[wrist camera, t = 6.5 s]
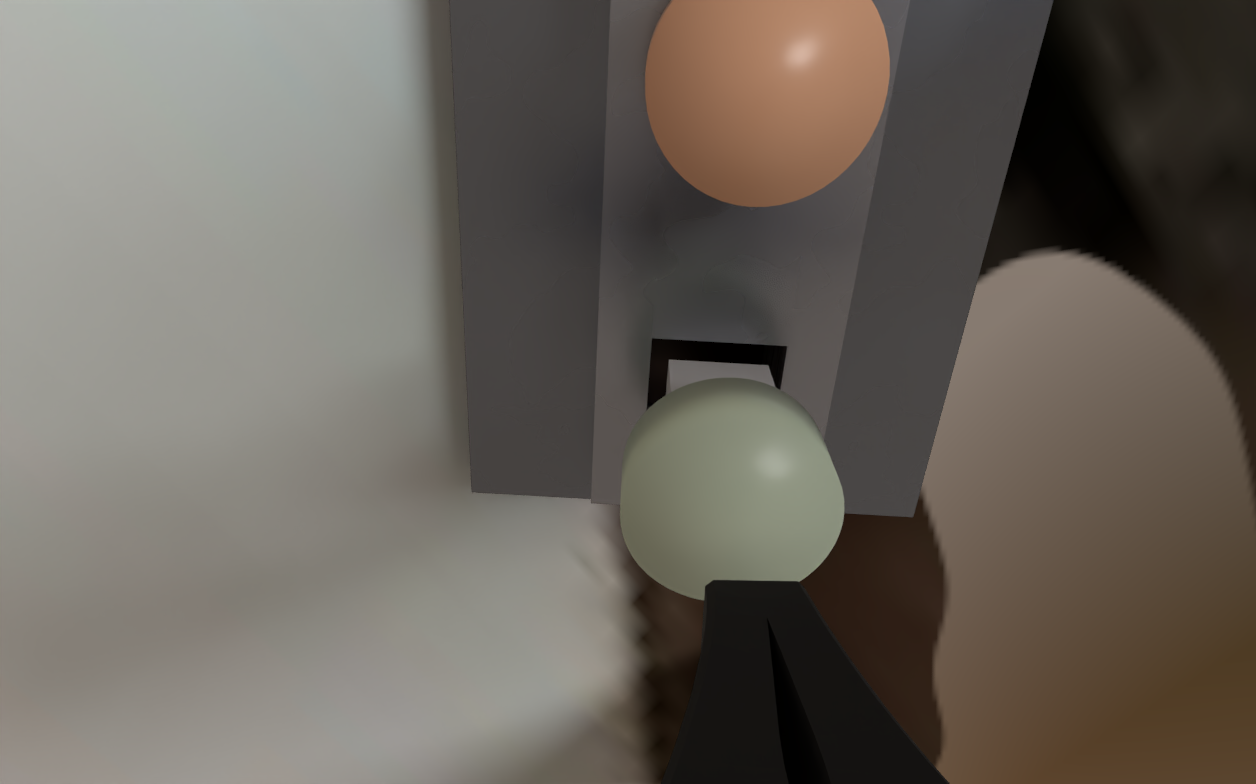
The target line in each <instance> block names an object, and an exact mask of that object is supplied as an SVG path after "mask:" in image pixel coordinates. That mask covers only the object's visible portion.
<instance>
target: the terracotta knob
mask: <svg viewBox="0 0 1256 784" xmlns="http://www.w3.org/2000/svg"><path fill="white" fill-rule="evenodd" d="M889 77H890V57H889V48H888V41H887V37H886V33H885V29H884V25H883V23H882V20H881V18H880V15H879V13H878V10H877V8H876V7H875V5H874V3H873V1H872V0H671V1H670V2H669V4H668V5H667V7H666V8H665V9H664V11H663V13H662V15H661V17H660V19H659V21H658V23H657V24H656V27H655V30H654V32H653V35H652V38H651V41H650V45H649V49H648V53H647V59H646V68H645V98H646V106H647V113H648V117H649V121H650V125H651V128H652V131H653V133H654V136H655V138H656V141H657V143H658V145H659V147H660V149H661V150H662V152H663V154H664V156H665V157H666V159H667V160H668V161H669V163H670V164H671V165H672V167H673V168H674V169H675V170H676V171H677V172H678V173H679V174H680V175H681V176H682V177H683V178H684V179H685V180H686V181H687V182H688V183H690V184H691V185H692V186H694V187H695V188H696V189H698V190H700V191H701V192H703V193H705V194H706V195H708V196H710V197H713V198H715V199H718V200H720V201H723V202H726V203H730V204H734V205H739V206H747V207H769V206H776V205H782V204H786V203H790V202H793V201H797V200H799V199H802V198H804V197H806V196H809V195H811V194H813V193H815V192H816V191H818V190H820V189H822V188H824V187H825V186H826V185H828V184H829V183H831V182H832V181H833V180H835V179H836V178H837V177H838V176H840V175H841V174H842V173H843V172H844V171H845V170H846V169H847V168H848V167H849V166H850V165H851V164H852V163H853V162H854V160H855V159H856V158H857V157H858V156H859V155H860V153H861V152H862V150H863V149H864V147H865V146H866V144H867V143H868V142H869V140H870V138H871V136H872V134H873V132H874V130H875V128H876V127H877V124H878V122H879V119H880V117H881V114H882V111H883V108H884V104H885V100H886V96H887V92H888V84H889Z"/></svg>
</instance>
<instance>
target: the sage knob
mask: <svg viewBox="0 0 1256 784" xmlns="http://www.w3.org/2000/svg"><path fill="white" fill-rule="evenodd" d="M843 518H844V496H843V490H842V486H841V483H840V480H839V478H838V475H837V472H836V470H835V467H834V465H833V462H832V460H831V457H830V455H829V452H828V450H827V447H826V445H825V442H824V440H823V437H822V435H821V432H820V430H819V428H818V426H817V424H816V423H815V421H814V419H813V418H812V416H811V415H810V414H809V412H808V411H807V410H806V409H805V408H804V407H803V406H802V405H801V404H800V403H799V402H798V401H797V400H795V399H794V398H793V397H791V396H790V395H788V394H787V393H785V392H783V391H781V390H780V389H778V388H776V387H775V384H774V381H773V378H772V375H771V372H770V369H769V366H768V365H755V364H738V363H720V362H703V361H686V360H669V363H668V374H667V386H666V395H665V396H664V397H662V398H661V399H659V400H658V401H657V402H655V403H654V404H653V405H652V406H651V407H650V408H649V409H648V410H647V411H646V412H645V413H644V414H643V415H642V416H641V418H640V419H639V420H638V422H637V423H636V425H635V426H634V428H633V429H632V431H631V433H630V435H629V438H628V440H627V443H626V446H625V450H624V455H623V462H622V480H621V501H620V524H621V530H622V535H623V537H624V540H625V543H626V546H627V548H628V550H629V551H630V553H631V555H632V557H633V558H634V559H635V561H636V562H637V563H638V565H639V566H640V567H641V568H642V569H643V570H644V571H645V572H646V573H647V574H648V575H649V576H650V577H652V578H653V579H654V580H655V581H657V582H658V583H660V584H662V585H663V586H665V587H666V588H668V589H670V590H673V591H675V592H677V593H679V594H682V595H685V596H688V597H691V598H695V599H699V600H704V596H705V586H706V585H707V584H708V583H710V582H711V581H713V580H754V581H798V582H800V581H801V580H802V579H804V578H805V577H807V576H808V575H809V574H810V573H812V572H813V571H814V570H815V569H816V568H817V567H818V566H819V565H820V564H821V563H822V562H823V561H824V559H825V558H826V557H827V556H828V554H829V553H830V551H831V550H832V548H833V547H834V545H835V543H836V541H837V538H838V536H839V534H840V531H841V527H842V524H843Z"/></svg>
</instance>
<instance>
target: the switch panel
mask: <svg viewBox="0 0 1256 784" xmlns="http://www.w3.org/2000/svg"><path fill="white" fill-rule="evenodd" d="M670 1H671V0H449V2H450V24H451V47H452V69H453V91H454V113H455V135H456V157H457V179H458V201H459V223H460V245H461V267H462V289H463V311H464V333H465V355H466V377H467V399H468V421H469V443H470V465H471V487H472V492H478V493H495V494H513V495H531V496H548V497H566V498H584V499H591V503H598V504H616V505H620V501H621V480H622V462H623V455H624V450H625V446H626V443H627V440H628V438H629V435H630V433H631V431H632V429H633V428H634V426H635V425H636V423H637V422H638V420H639V419H640V418H641V416H642V415H643V414H644V413H645V412H646V411H647V410H648V409H649V408H650V407H651V406H652V405H653V403H647V397H648V384H649V370H650V357H651V343H652V338H657V339H674V340H691V341H708V342H726V343H743V344H760V345H765V346H764V353H763V360H762V365H768V366H769V369H770V372H771V375H772V378H773V381H774V384H775V387H776V388H778V389H780V390H781V391H783V392H785V393H787V394H788V395H790V396H791V397H793V398H794V399H795V400H797V401H798V402H799V403H800V404H801V405H802V406H803V407H804V408H805V409H806V410H807V411H808V412H809V414H810V415H811V416H812V418H813V419H814V421H815V423H816V424H817V426H818V428H819V430H820V432H821V435H822V437H823V440H824V442H825V445H826V447H827V450H828V452H829V455H830V457H831V460H832V462H833V465H834V467H835V470H836V472H837V475H838V478H839V480H840V483H841V486H842V490H843V496H844V513H849V514H867V515H885V516H902V517H913V516H914V512H915V508H916V505H917V501H918V497H919V494H920V490H921V486H922V483H923V479H924V475H925V471H926V468H927V464H928V460H929V457H930V453H931V449H932V446H933V442H934V438H935V434H936V431H937V427H938V424H939V420H940V416H941V412H942V409H943V405H944V401H945V398H946V394H947V390H948V387H949V383H950V379H951V376H952V372H953V368H954V365H955V360H956V357H957V354H958V350H959V346H960V343H961V339H962V335H963V332H964V327H965V324H966V320H967V317H968V313H969V309H970V306H971V302H972V298H973V295H974V291H975V287H976V284H977V280H978V276H979V273H980V269H981V265H982V262H983V258H984V254H985V251H986V247H987V243H988V240H989V236H990V232H991V228H992V225H993V221H994V217H995V214H996V210H997V206H998V203H999V199H1000V195H1001V192H1002V188H1003V184H1004V181H1005V177H1006V173H1007V170H1008V166H1009V162H1010V159H1011V155H1012V151H1013V148H1014V144H1015V140H1016V136H1017V133H1018V129H1019V125H1020V122H1021V118H1022V114H1023V111H1024V107H1025V103H1026V100H1027V96H1028V92H1029V89H1030V85H1031V81H1032V78H1033V74H1034V70H1035V67H1036V63H1037V59H1038V55H1039V52H1040V48H1041V44H1042V41H1043V37H1044V33H1045V30H1046V26H1047V22H1048V19H1049V15H1050V11H1051V8H1052V4H1053V0H872V1H873V3H874V5H875V7H876V8H877V10H878V13H879V15H880V18H881V20H882V23H883V25H884V29H885V33H886V37H887V41H888V48H889V57H890V77H889V84H888V92H887V96H886V100H885V104H884V108H883V111H882V114H881V117H880V119H879V122H878V124H877V127H876V128H875V130H874V132H873V134H872V136H871V138H870V140H869V142H868V143H867V144H866V146H865V147H864V149H863V150H862V152H861V153H860V155H859V156H858V157H857V158H856V159H855V160H854V162H853V163H852V164H851V165H850V166H849V167H848V168H847V169H846V170H845V171H844V172H843V173H842V174H841V175H840V176H838V177H837V178H836V179H835V180H833V181H832V182H831V183H829V184H828V185H826V186H825V187H824V188H822V189H820V190H818V191H816V192H815V193H813V194H811V195H809V196H806V197H804V198H802V199H799V200H797V201H793V202H790V203H786V204H782V205H776V206H769V207H747V206H739V205H734V204H730V203H726V202H723V201H720V200H718V199H715V198H713V197H710V196H708V195H706V194H705V193H703V192H701V191H700V190H698V189H696V188H695V187H694V186H692V185H691V184H690V183H688V182H687V181H686V180H685V179H684V178H683V177H682V176H681V175H680V174H679V173H678V172H677V171H676V170H675V169H674V168H673V167H672V165H671V164H670V163H669V161H668V160H667V159H666V157H665V156H664V154H663V152H662V150H661V149H660V147H659V145H658V143H657V141H656V138H655V136H654V133H653V131H652V128H651V125H650V121H649V117H648V113H647V106H646V98H645V68H646V59H647V53H648V49H649V45H650V41H651V38H652V35H653V32H654V30H655V27H656V24H657V23H658V21H659V19H660V17H661V15H662V13H663V11H664V9H665V8H666V7H667V5H668V4H669V2H670Z"/></svg>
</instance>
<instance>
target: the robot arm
mask: <svg viewBox="0 0 1256 784" xmlns="http://www.w3.org/2000/svg"><path fill="white" fill-rule="evenodd" d="M661 784H949V782H948V781H947V780H946V779H945V778H944V777H943V776H942V775H941V774H940V772H939V771H938V770H937V769H936V768H935V767H934V765H933V764H932V763H931V762H930V761H929V760H928V759H927V757H926V756H925V755H924V754H923V753H922V751H921V750H920V749H919V748H918V746H917V745H916V744H915V743H914V742H913V740H912V739H911V738H910V737H909V736H908V734H907V733H906V732H905V731H904V730H903V728H902V727H901V726H900V725H899V723H898V722H897V721H896V720H895V718H894V717H893V716H892V714H891V713H890V712H889V711H888V709H887V708H886V707H885V706H884V704H883V703H882V702H881V700H880V699H879V697H878V696H877V695H876V693H875V692H874V691H873V689H872V688H871V687H870V685H869V684H868V683H867V681H866V680H865V679H864V677H863V676H862V675H861V673H860V672H859V671H858V669H857V668H856V666H855V665H854V664H853V662H852V661H851V659H850V658H849V656H848V655H847V654H846V652H845V651H844V649H843V648H842V646H841V645H840V643H839V642H838V640H837V639H836V637H835V636H834V634H833V633H832V631H831V630H830V628H829V627H828V625H827V624H826V622H825V621H824V619H823V617H822V616H821V614H820V613H819V611H818V610H817V608H816V606H815V605H814V603H813V601H812V600H811V598H810V596H809V595H808V593H807V591H806V590H805V588H804V587H803V586H802V585H801V584H800V583H799V582H798V581H754V580H713V581H711V582H710V583H708V584H707V585H706V586H705V596H704V612H703V628H702V644H701V655H700V659H699V663H698V668H697V672H696V676H695V680H694V684H693V689H692V693H691V696H690V700H689V703H688V706H687V709H686V713H685V716H684V719H683V722H682V725H681V728H680V731H679V735H678V738H677V741H676V744H675V747H674V750H673V753H672V755H671V758H670V761H669V763H668V766H667V769H666V772H665V774H664V777H663V779H662V782H661Z"/></svg>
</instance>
